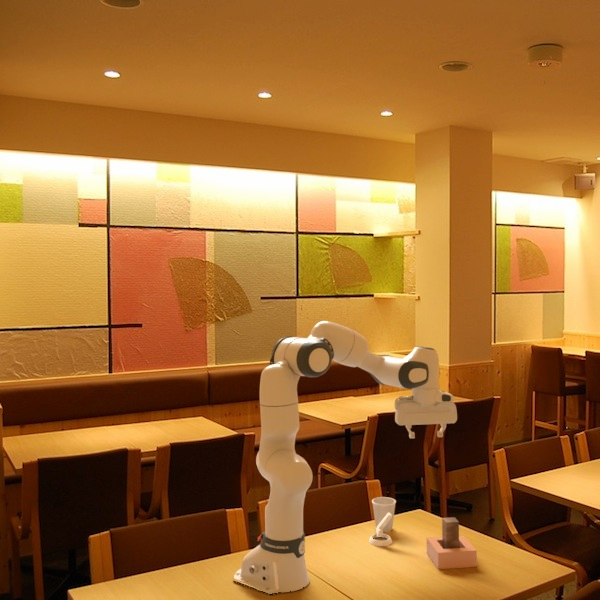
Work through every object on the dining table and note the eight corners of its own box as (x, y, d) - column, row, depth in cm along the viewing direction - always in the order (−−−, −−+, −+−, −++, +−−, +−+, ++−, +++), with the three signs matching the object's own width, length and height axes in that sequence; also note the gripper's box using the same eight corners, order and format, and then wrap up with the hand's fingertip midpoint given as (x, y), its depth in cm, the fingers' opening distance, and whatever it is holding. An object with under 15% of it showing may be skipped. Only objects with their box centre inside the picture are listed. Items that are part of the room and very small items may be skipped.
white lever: (408, 530, 229) (391, 520, 227) (386, 558, 231) (369, 548, 229) (402, 517, 236) (386, 508, 234) (381, 544, 238) (365, 534, 236)
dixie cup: (372, 524, 249) (371, 496, 248) (395, 524, 248) (395, 497, 248) (372, 533, 241) (371, 504, 240) (396, 533, 240) (396, 505, 239)
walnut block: (446, 560, 216) (446, 522, 215) (442, 555, 220) (442, 517, 219) (459, 560, 216) (458, 521, 216) (454, 554, 220) (454, 517, 220)
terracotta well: (438, 569, 211) (437, 552, 211) (426, 553, 223) (426, 537, 223) (476, 566, 213) (476, 550, 212) (463, 550, 225) (463, 535, 224)
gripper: (396, 398, 225) (397, 441, 226) (458, 396, 228) (458, 438, 228) (392, 394, 232) (392, 436, 232) (452, 392, 234) (452, 433, 234)
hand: (426, 437), depth 230 cm, fingers open, 8 cm apart
